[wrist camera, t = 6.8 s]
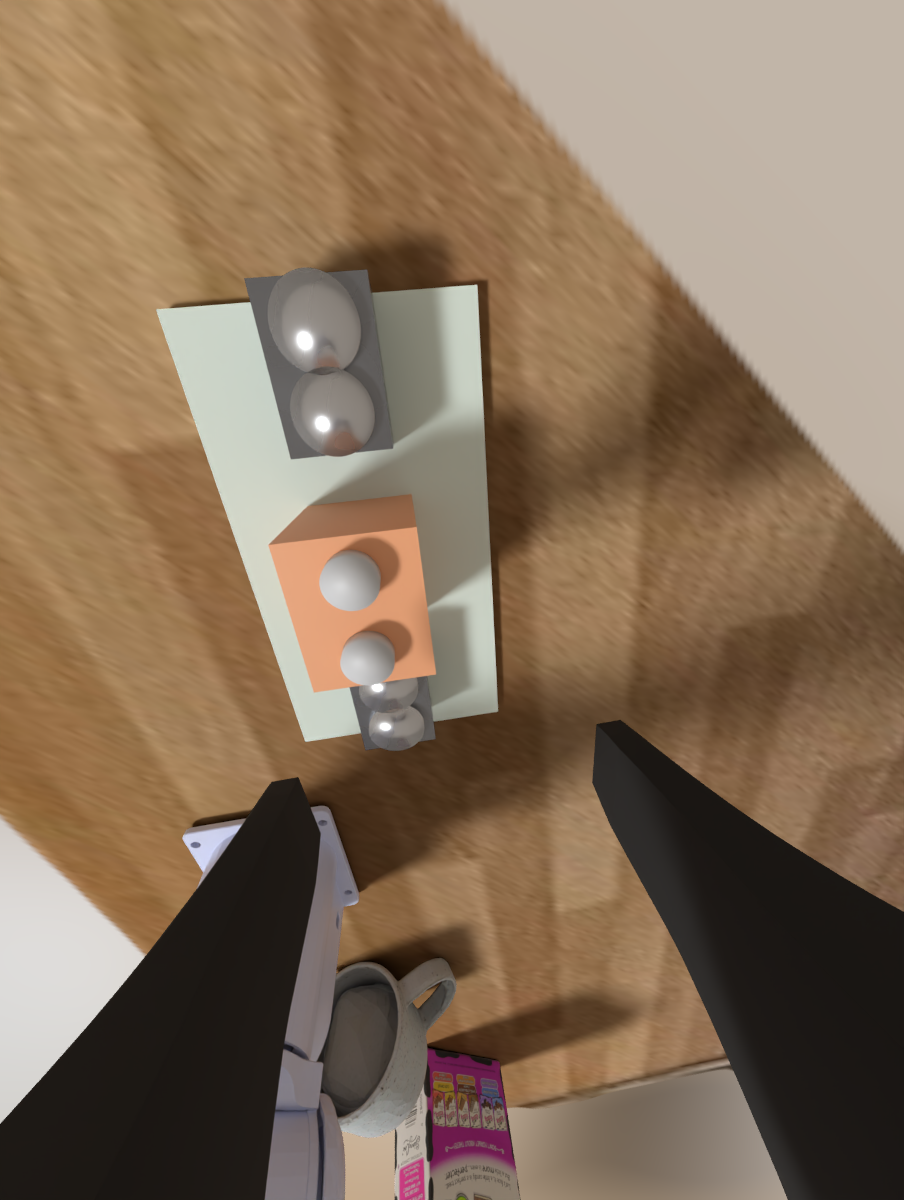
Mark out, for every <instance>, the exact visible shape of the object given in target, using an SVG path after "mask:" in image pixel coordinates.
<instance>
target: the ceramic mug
mask: <svg viewBox="0 0 904 1200" xmlns="http://www.w3.org/2000/svg"><path fill="white" fill-rule="evenodd" d="M441 981H442V982H441ZM439 982H441V983H440V985H439V986H438V987H437V988H436V990H435V991H434V992H433V994H432V995H431V996H430V997H429V998H428V999H427V1000H426V1001H425V1002H424V1003H423V1004H422V1005H421V1006H420V1007H419V1008H418V1009H417V1008H416V1007H415V1005H414V1004H413V1000H415V999H416V998H418V997H419V996H420V995H421V994H423V993H424V992H425V991H426V990H427V989H429V988H430V987H432V986H434V985H436V984H437V983H439ZM455 992H456V980H455V977H454V975H453V973H452V971H451V969H450V967H449V964H448V963H447V962H446V961H445V959H442V958H435V959H431V960H428V961H426V962H424V963H422V964H421V965H419V966H418V967H416V968H415V969H414V970H412V971H411V972H410V973H408V974H407V975H406V976H404V977H403V978H402V979H401V980H399V981H397V980H396V979H395V978H394V977H393V975H392V974H391V973H390V972H389V971H388V970H387V969H386V968H385V967H383V966H381V965H379V964H377V963H373V962H359V963H355V964H353V965H350V966H348V967H346V968H344V969H343V970H341V971H340V972H339V973H337V974H336V978H335V987H334V996H333V1005H332V1014H331V1021H330V1026H329V1030H328V1034H327V1037H326V1040H325V1043H324V1046H323V1048H322V1051H321V1053H320V1055H319V1057H318V1059H317V1061H316V1062H322V1063H323V1072H322V1081H321V1090H320V1093H324V1094H327V1095H328V1096H329V1097H330V1098H331V1100H332V1102H333V1105H334V1107H335V1110H336V1115H337V1119H338V1122H339V1125H340V1128H341V1131H344V1132H348V1133H353V1134H355V1135H358V1136H362V1137H379V1136H382V1135H384V1134H386V1133H388V1132H390V1131H392V1130H394V1129H396V1128H397V1127H398V1126H399V1125H400V1124H401V1123H402V1122H403V1121H404V1120H405V1119H406V1118H407V1117H408V1116H409V1114H410V1113H411V1111H412V1110H413V1108H414V1106H415V1104H416V1102H417V1100H418V1098H419V1095H420V1093H421V1091H422V1088H423V1084H424V1080H425V1075H426V1069H427V1040H426V1032H427V1030H428V1029H429V1028H430V1027H431V1026H432V1025H433V1024H434V1023H435V1022H436V1021H437V1019H438V1018H439V1017H440V1016H441V1015H442V1014H443V1013H444V1012H445V1010H446V1009H447V1008H448V1007H449V1005H450V1003H451V1001H452V999H453V997H454V995H455Z"/></svg>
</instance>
